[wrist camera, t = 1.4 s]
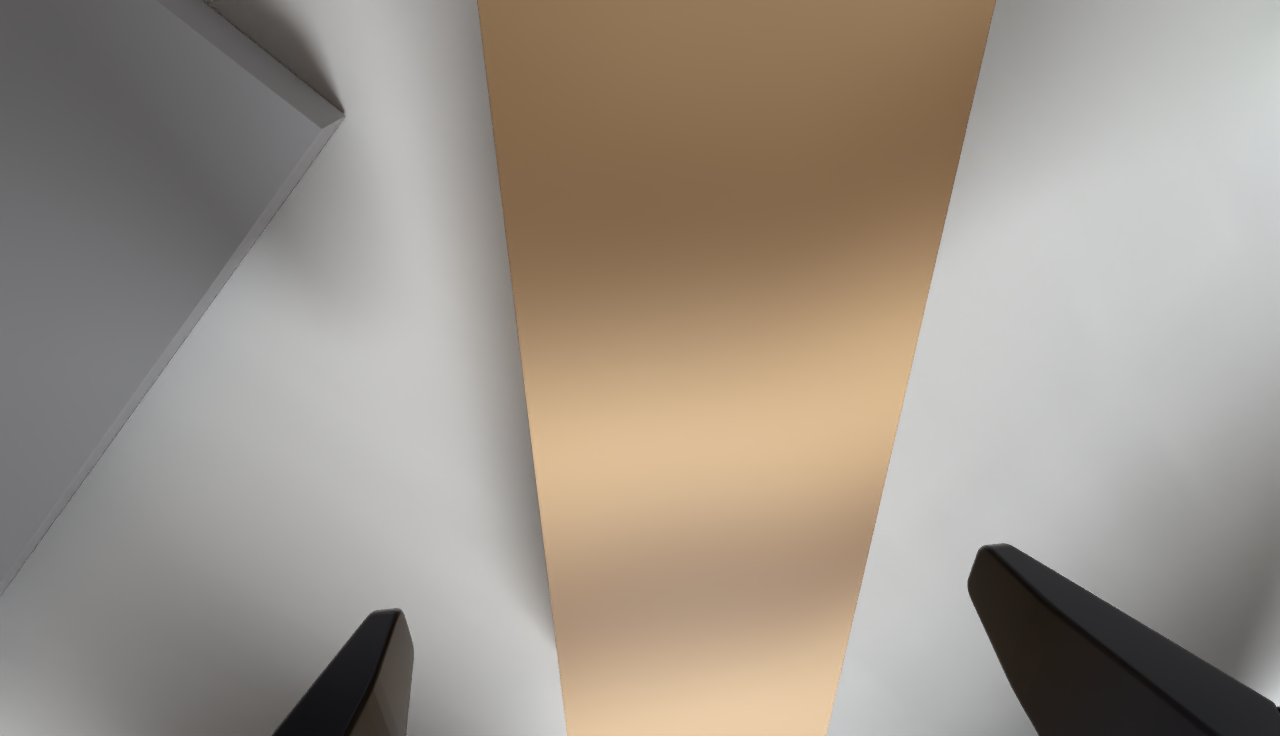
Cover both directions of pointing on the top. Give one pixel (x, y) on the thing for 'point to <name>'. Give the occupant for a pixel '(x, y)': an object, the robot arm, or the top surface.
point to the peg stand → (122, 217)
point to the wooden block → (718, 327)
